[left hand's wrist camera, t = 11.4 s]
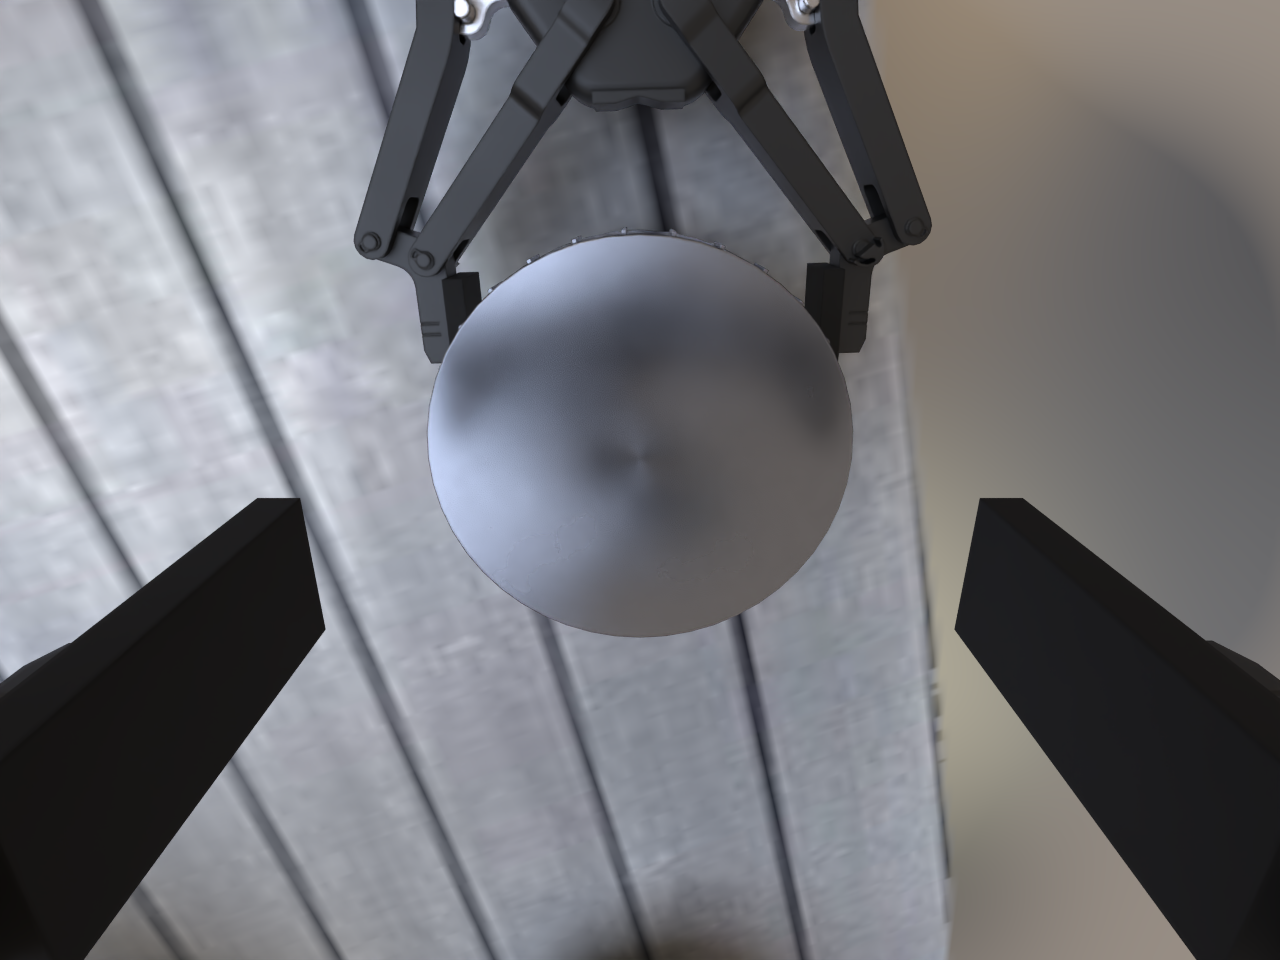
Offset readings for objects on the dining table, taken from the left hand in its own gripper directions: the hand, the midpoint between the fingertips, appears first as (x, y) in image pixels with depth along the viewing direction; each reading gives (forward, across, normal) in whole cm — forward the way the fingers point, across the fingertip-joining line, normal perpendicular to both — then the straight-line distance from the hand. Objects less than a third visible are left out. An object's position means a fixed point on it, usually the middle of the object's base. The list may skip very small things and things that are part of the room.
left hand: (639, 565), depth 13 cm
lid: (+6, 0, 0) cm, 6 cm away
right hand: (+16, 0, -3) cm, 16 cm away
